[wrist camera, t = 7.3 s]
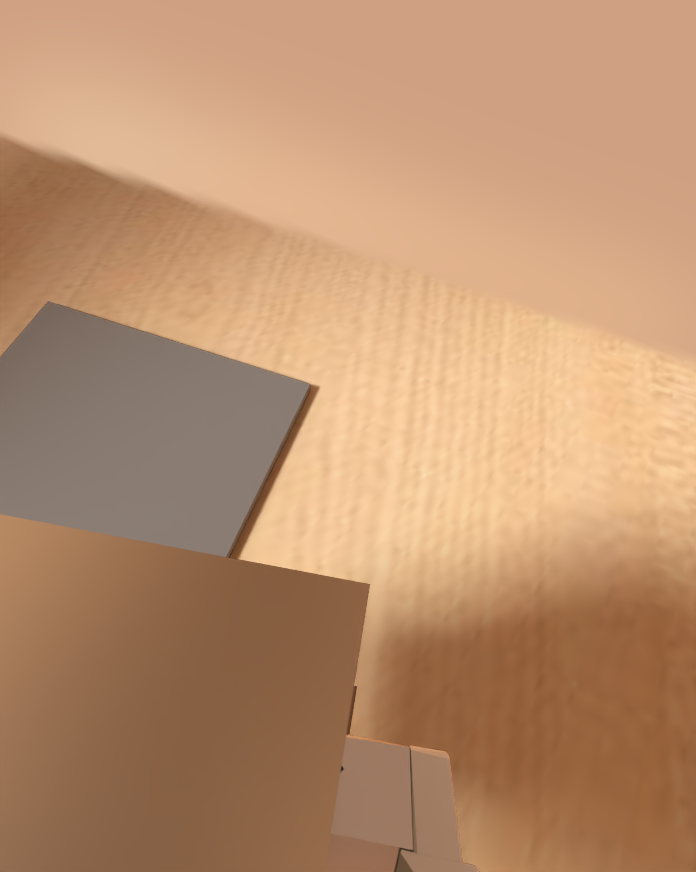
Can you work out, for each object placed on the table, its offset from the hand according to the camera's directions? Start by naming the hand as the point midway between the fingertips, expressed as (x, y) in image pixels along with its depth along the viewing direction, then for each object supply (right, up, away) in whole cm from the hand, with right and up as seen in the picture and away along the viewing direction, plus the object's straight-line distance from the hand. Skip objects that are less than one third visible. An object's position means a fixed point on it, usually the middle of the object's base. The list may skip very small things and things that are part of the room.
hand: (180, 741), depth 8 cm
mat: (-7, +3, +14) cm, 16 cm away
